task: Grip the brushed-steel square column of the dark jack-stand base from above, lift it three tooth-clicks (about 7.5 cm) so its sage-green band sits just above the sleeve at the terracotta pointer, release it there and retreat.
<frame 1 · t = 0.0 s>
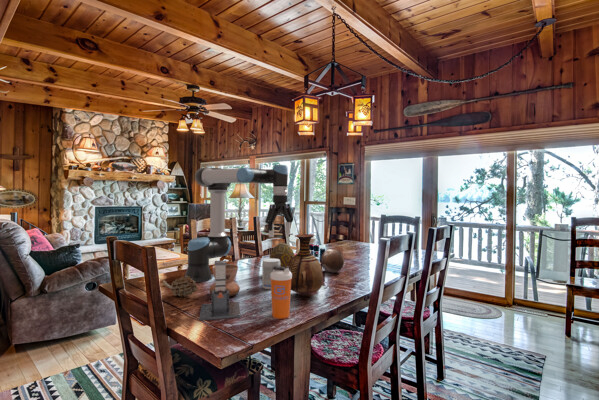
hand: (279, 235, 170), 28 cm above the table, fingers open, 13 cm apart
shaker bottle: (280, 316, 134), on the table
wooden sphere: (332, 272, 208), on the table
supplement tub: (271, 287, 174), on the table
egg: (282, 275, 199), on the table
column: (220, 285, 138), point 11 cm above the table, slide at 0.0 cm
vase: (304, 296, 160), on the table
pine cone: (177, 295, 159), on the table
ceramic jug: (225, 295, 161), on the table
stand base: (220, 311, 138), on the table
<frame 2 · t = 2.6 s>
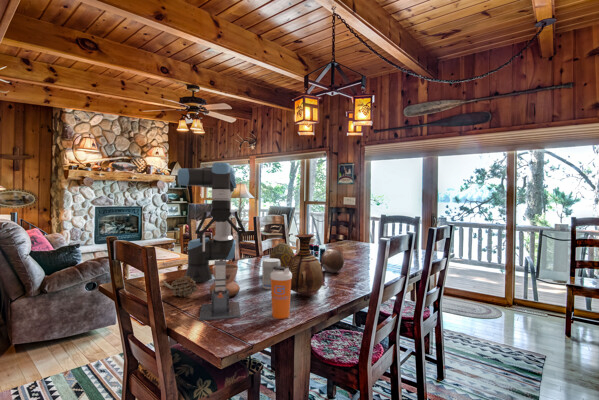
hand: (220, 250, 137), 26 cm above the table, fingers open, 13 cm apart
nothing on the table moved.
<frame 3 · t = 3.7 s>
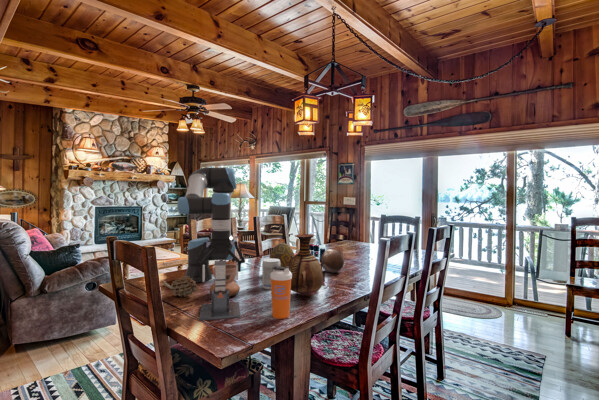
hand: (220, 280, 138), 13 cm above the table, fingers open, 13 cm apart
nothing on the table moved.
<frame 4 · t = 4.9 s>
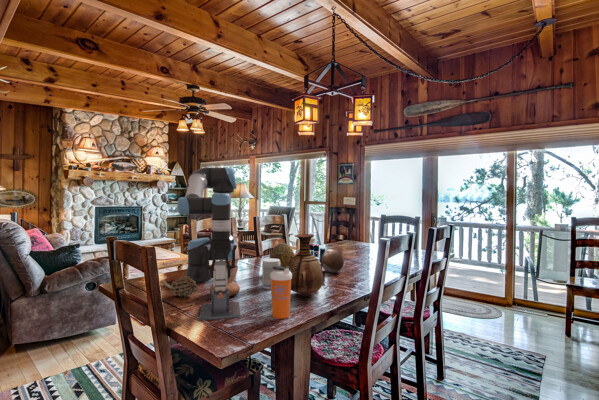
hand: (220, 285, 138), 11 cm above the table, fingers closed on column, 4 cm apart
column: (220, 285, 138), point 11 cm above the table, slide at 0.0 cm, touching gripper
everything else where it was.
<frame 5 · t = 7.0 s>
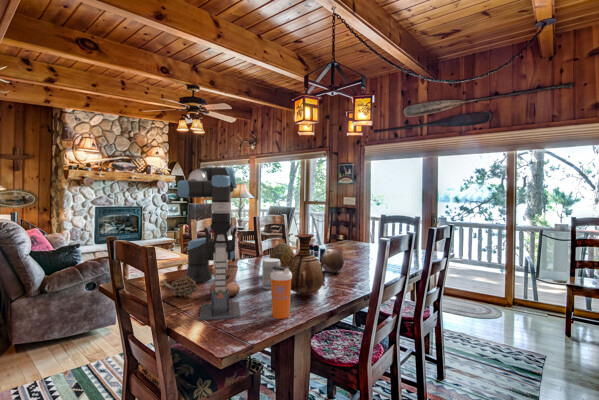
hand: (220, 267, 137), 19 cm above the table, fingers closed on column, 4 cm apart
column: (220, 268, 137), point 19 cm above the table, slide at 7.4 cm, touching gripper
everything else where it was.
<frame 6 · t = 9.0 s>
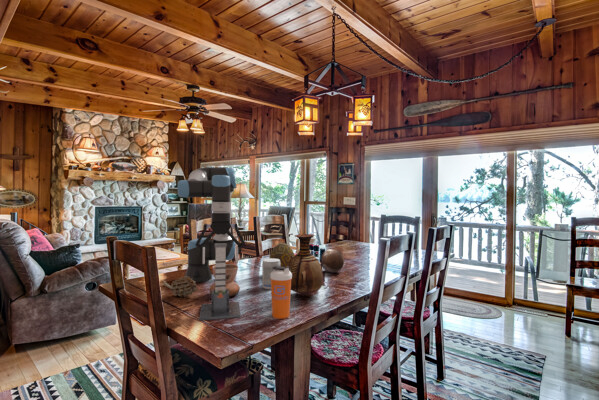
hand: (220, 262, 137), 21 cm above the table, fingers open, 13 cm apart
column: (220, 267, 137), point 19 cm above the table, slide at 7.5 cm
everything else where it was.
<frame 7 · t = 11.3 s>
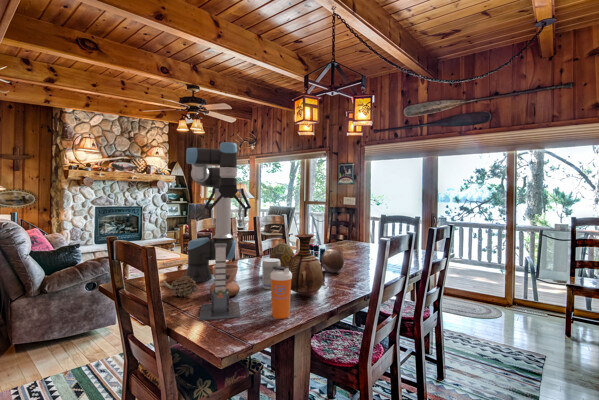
hand: (227, 224, 148), 36 cm above the table, fingers open, 13 cm apart
nothing on the table moved.
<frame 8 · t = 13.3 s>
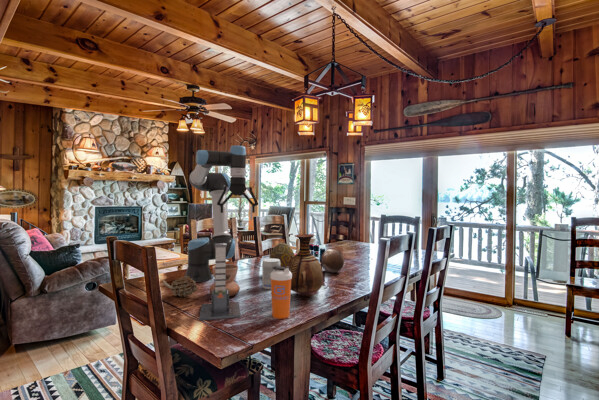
hand: (237, 219, 164), 37 cm above the table, fingers open, 13 cm apart
nothing on the table moved.
at the end: column slide at 7.5 cm; the gripper is holding nothing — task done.
